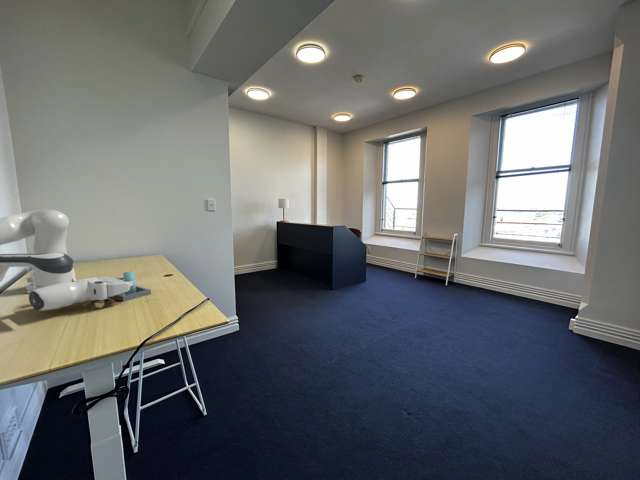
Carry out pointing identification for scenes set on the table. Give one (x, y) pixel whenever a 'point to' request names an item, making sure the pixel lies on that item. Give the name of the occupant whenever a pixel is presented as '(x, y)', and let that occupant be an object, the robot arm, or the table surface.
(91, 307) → the jig plate
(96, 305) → the bench dog
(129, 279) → the dowel
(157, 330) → the table surface
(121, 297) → the tray
